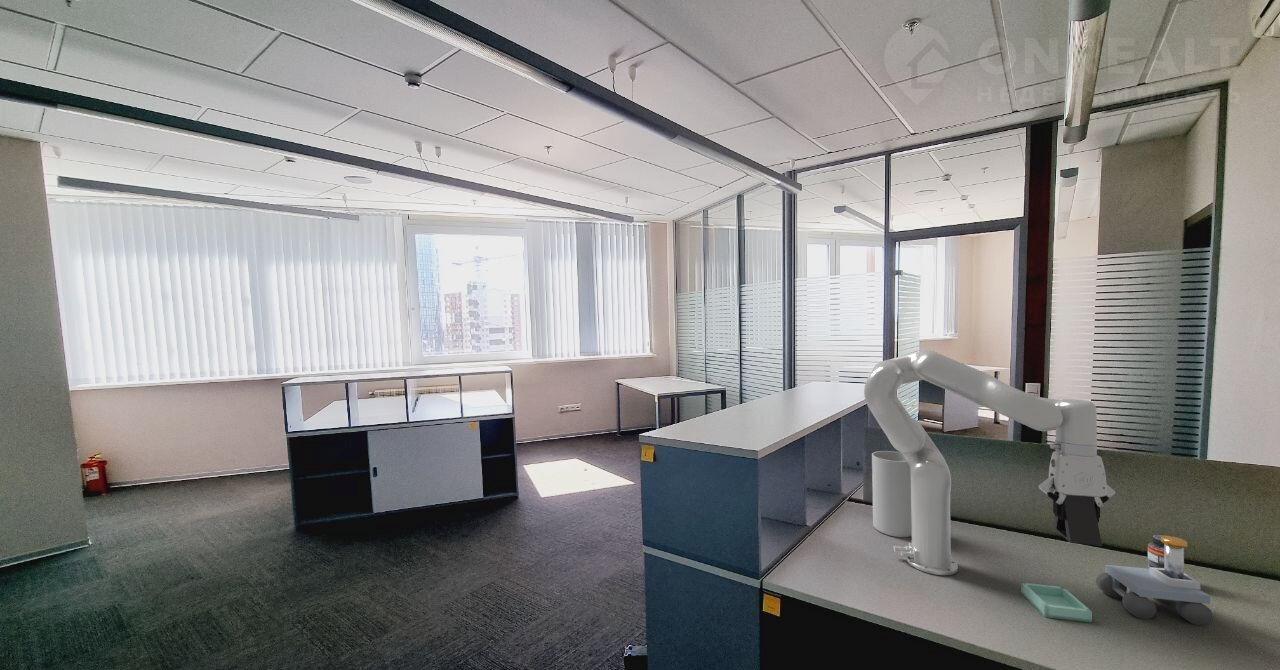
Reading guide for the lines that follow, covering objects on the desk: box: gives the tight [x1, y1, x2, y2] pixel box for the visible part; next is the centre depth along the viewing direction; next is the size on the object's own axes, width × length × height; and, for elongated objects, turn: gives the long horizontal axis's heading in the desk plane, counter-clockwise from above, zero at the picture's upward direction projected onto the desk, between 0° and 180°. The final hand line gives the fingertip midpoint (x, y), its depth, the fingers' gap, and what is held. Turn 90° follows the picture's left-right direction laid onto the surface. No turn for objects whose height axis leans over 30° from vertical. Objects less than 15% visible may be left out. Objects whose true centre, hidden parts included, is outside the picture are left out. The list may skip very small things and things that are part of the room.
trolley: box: [1095, 564, 1213, 626], centre depth 108 cm, size 11×15×9 cm
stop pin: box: [1161, 535, 1188, 579], centre depth 107 cm, size 4×4×10 cm
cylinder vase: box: [871, 450, 912, 538], centre depth 152 cm, size 12×12×25 cm
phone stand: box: [1052, 495, 1103, 547], centre depth 115 cm, size 9×6×12 cm, turn 158°
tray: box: [1020, 582, 1093, 623], centre depth 109 cm, size 9×10×3 cm
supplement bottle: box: [1147, 534, 1164, 569], centre depth 119 cm, size 6×6×11 cm
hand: (1076, 518), depth 115 cm, fingers closed on phone stand, 6 cm apart
